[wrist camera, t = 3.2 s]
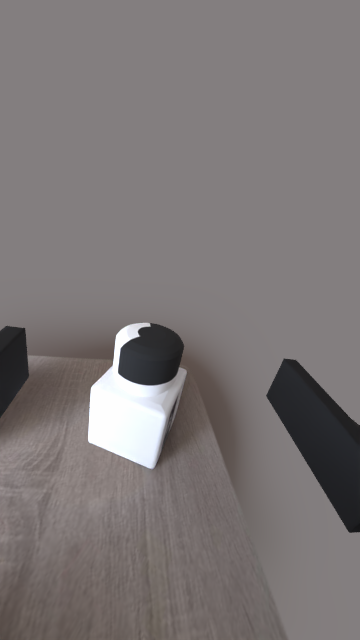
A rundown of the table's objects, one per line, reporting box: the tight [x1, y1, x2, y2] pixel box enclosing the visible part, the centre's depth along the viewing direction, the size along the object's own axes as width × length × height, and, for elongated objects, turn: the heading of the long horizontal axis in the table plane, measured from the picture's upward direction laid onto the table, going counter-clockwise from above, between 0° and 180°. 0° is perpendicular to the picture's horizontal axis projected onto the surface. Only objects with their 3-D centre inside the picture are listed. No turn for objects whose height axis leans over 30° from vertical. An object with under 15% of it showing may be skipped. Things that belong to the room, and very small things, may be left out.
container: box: [88, 323, 187, 469], centre depth 25 cm, size 8×8×13 cm
